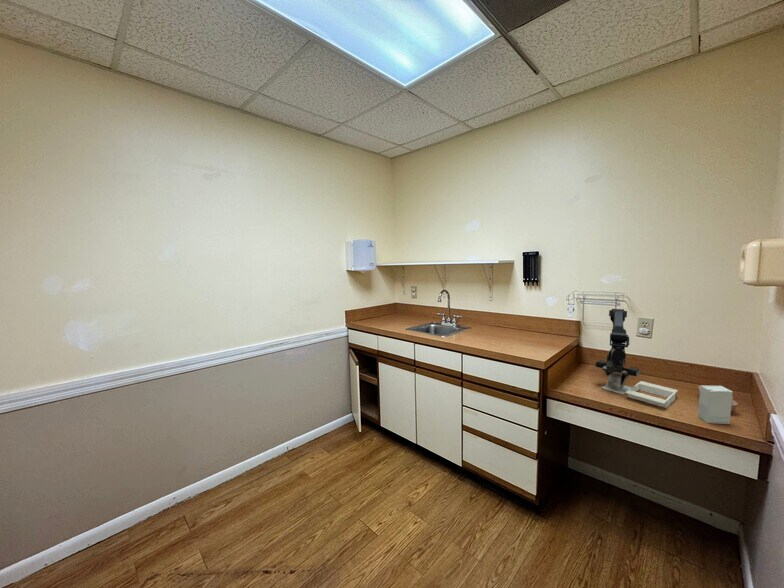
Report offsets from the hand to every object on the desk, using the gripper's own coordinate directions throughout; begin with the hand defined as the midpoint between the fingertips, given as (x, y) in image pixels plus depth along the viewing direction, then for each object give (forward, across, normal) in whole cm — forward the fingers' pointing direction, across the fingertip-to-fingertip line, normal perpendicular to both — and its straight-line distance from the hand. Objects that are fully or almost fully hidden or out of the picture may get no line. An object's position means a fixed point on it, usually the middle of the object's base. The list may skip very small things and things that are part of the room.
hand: (616, 383), depth 168 cm
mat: (+3, 0, +1) cm, 3 cm away
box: (+2, 0, +1) cm, 2 cm away
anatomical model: (+4, +35, +16) cm, 39 cm away
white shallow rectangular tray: (+3, +15, +1) cm, 15 cm away
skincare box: (+3, +38, -5) cm, 38 cm away
